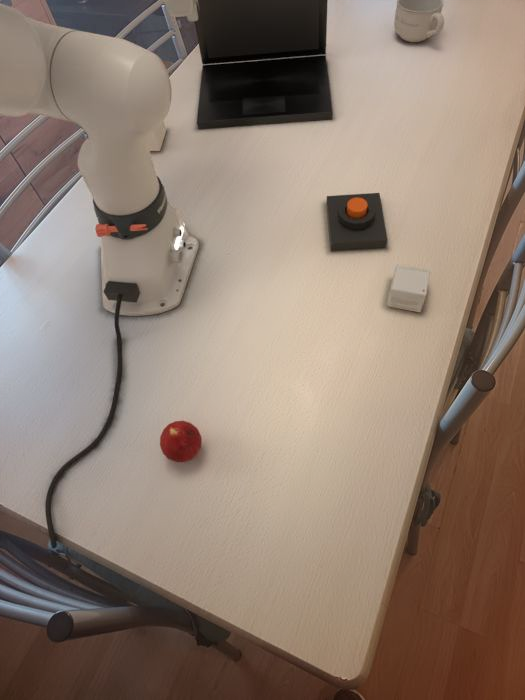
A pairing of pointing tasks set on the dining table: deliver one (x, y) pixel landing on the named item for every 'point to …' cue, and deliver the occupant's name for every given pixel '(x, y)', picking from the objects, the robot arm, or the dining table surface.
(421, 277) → the small box
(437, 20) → the teacup
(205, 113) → the laptop
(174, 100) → the dining table surface
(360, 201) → the switch button
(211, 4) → the laptop screen
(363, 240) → the switch block
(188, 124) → the dining table surface
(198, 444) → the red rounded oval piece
